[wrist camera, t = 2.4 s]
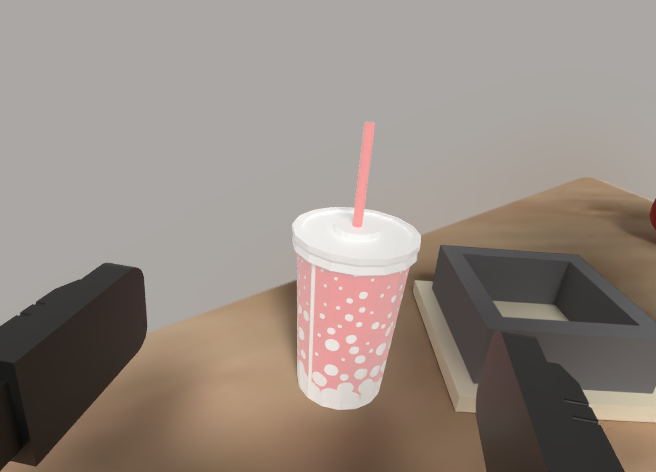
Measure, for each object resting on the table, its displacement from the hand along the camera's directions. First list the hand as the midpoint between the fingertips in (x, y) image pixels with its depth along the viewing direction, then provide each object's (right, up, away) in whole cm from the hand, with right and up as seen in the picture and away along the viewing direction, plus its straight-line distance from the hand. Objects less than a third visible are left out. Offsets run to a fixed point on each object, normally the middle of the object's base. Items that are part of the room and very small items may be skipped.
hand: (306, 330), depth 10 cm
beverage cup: (+1, -6, +15) cm, 16 cm away
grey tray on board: (+13, -5, +19) cm, 24 cm away
